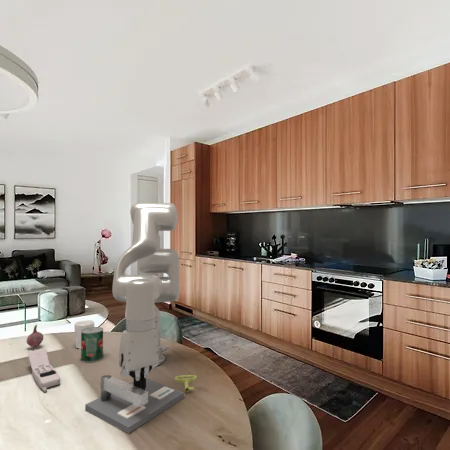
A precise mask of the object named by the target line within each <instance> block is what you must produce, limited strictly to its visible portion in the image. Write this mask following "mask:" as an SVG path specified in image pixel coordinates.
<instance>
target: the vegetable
mask: <svg viewBox="0 0 450 450" xmlns="http://www.w3.org/2000/svg"><path fill="white" fill-rule="evenodd" d="M37 327H38V324H35V325H34V326H33V331H32V333H29V335H28V336H27V338H26V343H27V346H30V347H31V348H33V349H35V348H38V347H39V346H40V345H41V344H42V342H43V341H44V334H43V333H42V332H40V331H37V330H38V328H37Z"/></svg>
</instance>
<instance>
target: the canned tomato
mask: <svg viewBox="0 0 450 450" xmlns="http://www.w3.org/2000/svg"><path fill="white" fill-rule="evenodd" d="M103 358H104V328H103V327H102V326H94V327H90V328H86V329H83V330H82V331H81V349H80V361H81V363H84V364H85V363H87V364H90V363H95V362H99V361H101V360H102V359H103Z"/></svg>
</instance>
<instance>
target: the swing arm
mask: <svg viewBox="0 0 450 450" xmlns="http://www.w3.org/2000/svg"><path fill="white" fill-rule="evenodd" d="M129 383H130V382H126V381H124V380H121V379H119V378H116V376H115V377H114V376H112V375H110V374H104V375H101V377H100V397H101V400H108V399H110V398H111V393H112V394H114V395H116V396H118V397H120V398H123V399H125V400H127V401H129V402H131V403H133V404H135V405H137V406H140V407H141V406H143V405H145V404H147V403H148V391H145V390H143V389H141V388H138V387H136V386H134V385H131V384H129Z"/></svg>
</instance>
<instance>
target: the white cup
mask: <svg viewBox="0 0 450 450" xmlns="http://www.w3.org/2000/svg"><path fill="white" fill-rule="evenodd" d="M90 327H95V321H94V320H87V319H86V320H81V321H76V322H75V323H74V342H75V348H76V349H77V348H80V349H79V350H81V331H82V330H83V329H86V328H90Z"/></svg>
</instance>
